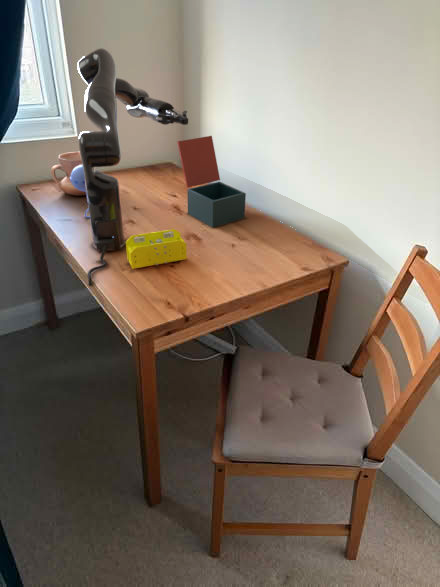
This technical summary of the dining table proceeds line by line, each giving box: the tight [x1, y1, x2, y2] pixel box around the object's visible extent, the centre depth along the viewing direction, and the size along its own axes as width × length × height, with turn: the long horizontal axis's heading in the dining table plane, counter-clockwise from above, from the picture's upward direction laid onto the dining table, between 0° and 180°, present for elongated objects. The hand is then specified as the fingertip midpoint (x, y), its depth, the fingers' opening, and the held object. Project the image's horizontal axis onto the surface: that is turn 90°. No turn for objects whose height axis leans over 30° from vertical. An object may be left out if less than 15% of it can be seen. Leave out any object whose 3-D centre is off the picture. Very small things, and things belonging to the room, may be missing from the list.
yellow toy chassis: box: [125, 228, 188, 270], centre depth 128 cm, size 16×6×8 cm, turn 114°
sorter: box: [186, 181, 247, 228], centre depth 157 cm, size 14×14×9 cm
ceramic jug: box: [50, 150, 86, 196], centre depth 173 cm, size 18×14×14 cm
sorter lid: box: [176, 135, 221, 189], centre depth 157 cm, size 15×14×1 cm
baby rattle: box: [70, 165, 90, 219], centre depth 151 cm, size 9×9×18 cm
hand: (186, 121), depth 156 cm, fingers closed
